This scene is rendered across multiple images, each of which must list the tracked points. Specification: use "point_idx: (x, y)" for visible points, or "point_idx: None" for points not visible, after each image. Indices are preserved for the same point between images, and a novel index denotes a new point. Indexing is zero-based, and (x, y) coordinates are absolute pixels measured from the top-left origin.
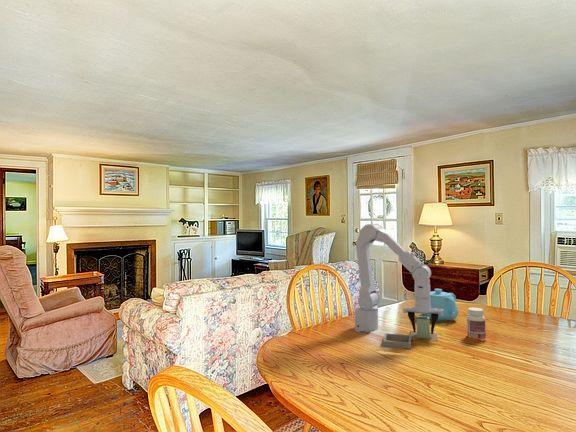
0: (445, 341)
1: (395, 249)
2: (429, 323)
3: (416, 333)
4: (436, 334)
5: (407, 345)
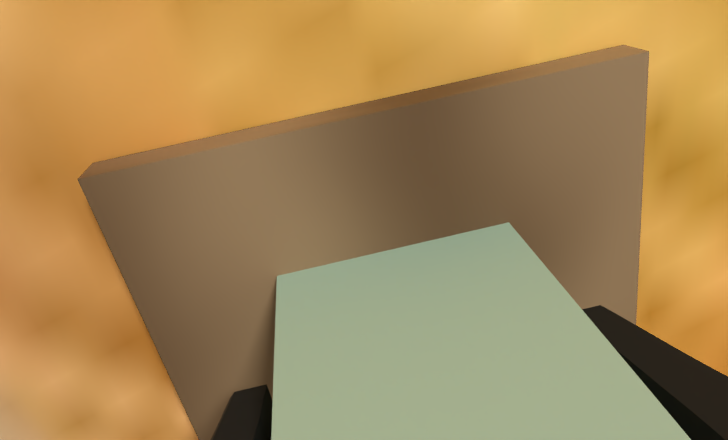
0: (723, 288)
1: None
2: None
3: (259, 257)
4: (637, 130)
5: None
